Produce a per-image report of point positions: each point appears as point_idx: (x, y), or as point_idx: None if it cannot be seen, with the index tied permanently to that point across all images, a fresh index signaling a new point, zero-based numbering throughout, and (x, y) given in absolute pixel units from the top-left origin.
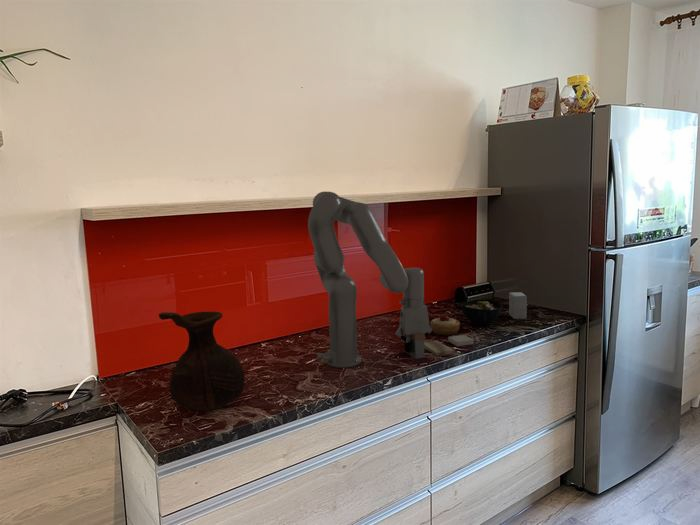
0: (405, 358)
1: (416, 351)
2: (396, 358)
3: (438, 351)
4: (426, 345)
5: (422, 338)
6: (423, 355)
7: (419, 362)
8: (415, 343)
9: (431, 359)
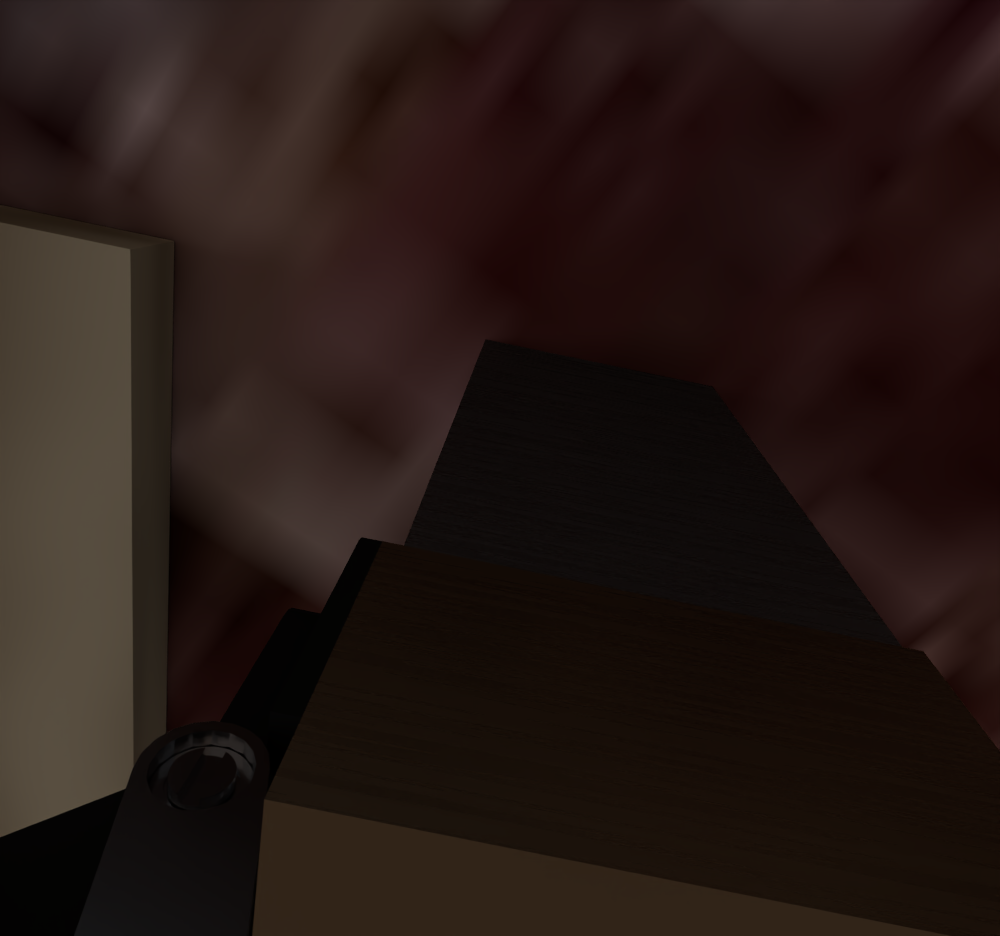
0: (860, 536)
1: (723, 445)
2: (996, 640)
3: (45, 302)
4: (102, 757)
5: (490, 622)
6: (507, 356)
7: (835, 110)
8: (850, 584)
9: (432, 111)
